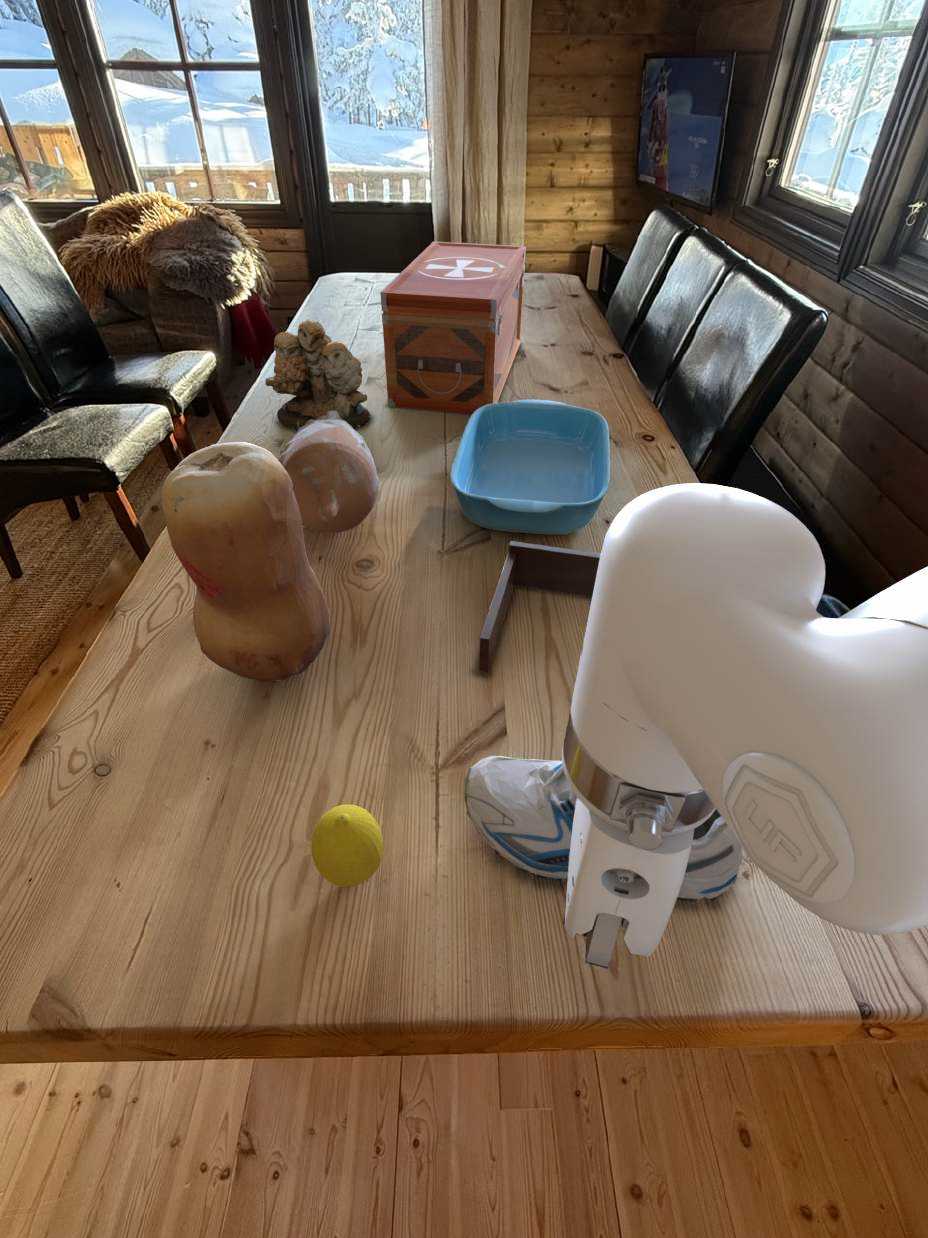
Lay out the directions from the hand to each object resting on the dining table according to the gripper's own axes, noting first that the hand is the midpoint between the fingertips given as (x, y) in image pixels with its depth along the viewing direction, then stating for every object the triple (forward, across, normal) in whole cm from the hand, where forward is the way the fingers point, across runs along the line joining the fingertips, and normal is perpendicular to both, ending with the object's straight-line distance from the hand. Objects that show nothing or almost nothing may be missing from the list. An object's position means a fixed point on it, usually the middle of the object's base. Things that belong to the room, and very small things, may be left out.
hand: (588, 919), depth 43 cm
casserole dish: (+10, +69, +14) cm, 72 cm away
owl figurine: (+11, +84, +55) cm, 102 cm away
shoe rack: (+9, +36, -1) cm, 38 cm away
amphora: (+11, +56, +41) cm, 71 cm away
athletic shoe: (+9, +11, -1) cm, 15 cm away
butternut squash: (+10, +24, +35) cm, 44 cm away
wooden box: (+11, +113, +36) cm, 120 cm away
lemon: (+9, +3, +18) cm, 21 cm away
